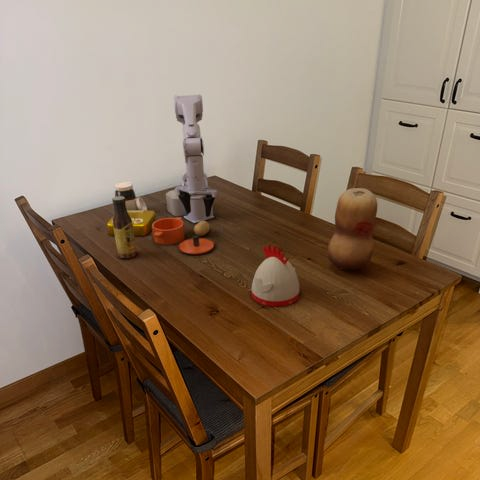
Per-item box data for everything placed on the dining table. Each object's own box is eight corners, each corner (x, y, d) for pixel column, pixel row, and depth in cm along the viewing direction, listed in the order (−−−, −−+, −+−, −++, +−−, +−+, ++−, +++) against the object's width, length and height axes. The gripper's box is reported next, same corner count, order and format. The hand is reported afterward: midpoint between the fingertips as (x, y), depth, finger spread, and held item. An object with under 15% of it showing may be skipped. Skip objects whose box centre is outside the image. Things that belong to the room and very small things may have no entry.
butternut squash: (337, 281, 143) (346, 201, 128) (319, 262, 153) (325, 186, 139) (379, 274, 145) (391, 195, 131) (358, 256, 156) (368, 181, 142)
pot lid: (219, 243, 167) (218, 231, 164) (204, 258, 157) (203, 245, 155) (189, 238, 171) (188, 227, 168) (172, 252, 161) (171, 240, 159)
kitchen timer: (270, 277, 146) (271, 232, 137) (308, 291, 138) (311, 244, 130) (241, 296, 137) (240, 248, 128) (280, 311, 129) (282, 262, 121)
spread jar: (115, 210, 195) (110, 182, 189) (142, 205, 199) (138, 178, 193) (122, 220, 186) (117, 191, 180) (150, 215, 190) (146, 186, 184)
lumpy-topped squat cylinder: (165, 209, 195) (162, 188, 190) (192, 202, 201) (191, 182, 196) (176, 217, 188) (174, 196, 183) (204, 210, 193) (203, 189, 189)
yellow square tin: (157, 220, 185) (155, 208, 183) (147, 236, 173) (145, 224, 170) (120, 220, 187) (118, 208, 184) (107, 235, 174) (105, 223, 172)
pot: (193, 231, 176) (192, 217, 173) (171, 249, 163) (169, 235, 160) (167, 227, 180) (165, 213, 177) (143, 245, 167) (141, 230, 164)
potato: (200, 229, 177) (200, 218, 174) (212, 231, 176) (211, 219, 173) (192, 237, 172) (191, 225, 169) (203, 238, 170) (202, 226, 168)
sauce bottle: (132, 260, 158) (123, 202, 146) (115, 258, 159) (104, 201, 147) (140, 251, 163) (131, 195, 152) (123, 250, 164) (113, 194, 153)
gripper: (170, 177, 157) (174, 215, 164) (209, 181, 152) (212, 221, 160) (180, 170, 162) (184, 208, 170) (219, 175, 157) (220, 213, 165)
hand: (198, 214), depth 165 cm, fingers open, 7 cm apart
